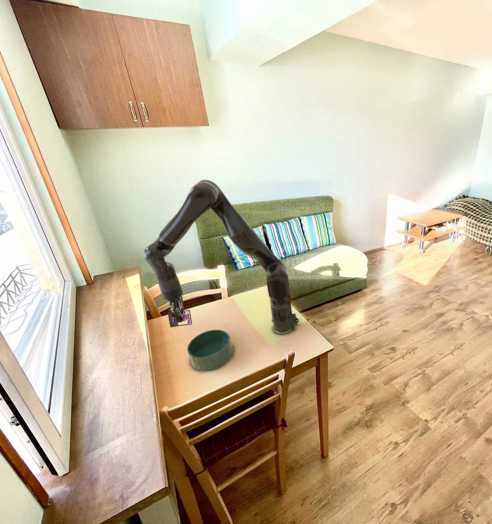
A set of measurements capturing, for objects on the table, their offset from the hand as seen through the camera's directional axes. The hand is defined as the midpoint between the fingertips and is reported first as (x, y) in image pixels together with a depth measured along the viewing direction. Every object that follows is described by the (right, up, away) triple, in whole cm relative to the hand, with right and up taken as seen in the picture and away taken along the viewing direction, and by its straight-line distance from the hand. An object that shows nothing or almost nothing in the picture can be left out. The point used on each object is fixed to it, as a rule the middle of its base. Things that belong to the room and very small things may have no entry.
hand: (181, 318), depth 124 cm
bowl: (+17, -14, -7) cm, 23 cm away
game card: (0, -2, +1) cm, 3 cm away
